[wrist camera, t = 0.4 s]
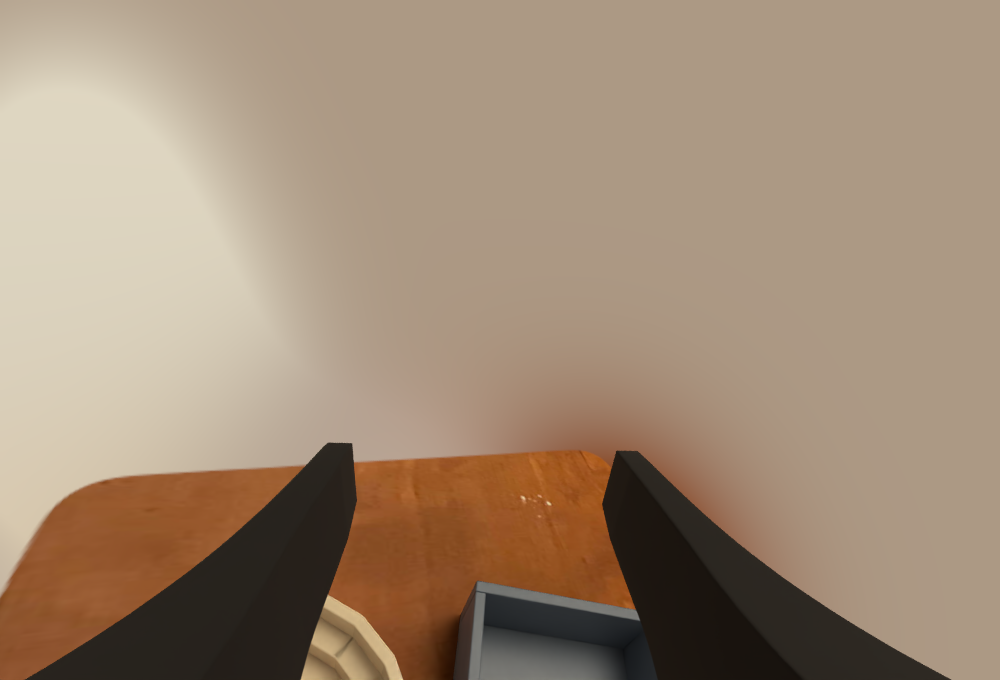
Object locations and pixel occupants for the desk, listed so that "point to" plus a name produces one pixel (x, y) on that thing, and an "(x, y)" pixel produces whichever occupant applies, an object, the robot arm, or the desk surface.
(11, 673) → the desk surface
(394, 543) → the desk surface
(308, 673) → the bowl
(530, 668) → the bin
